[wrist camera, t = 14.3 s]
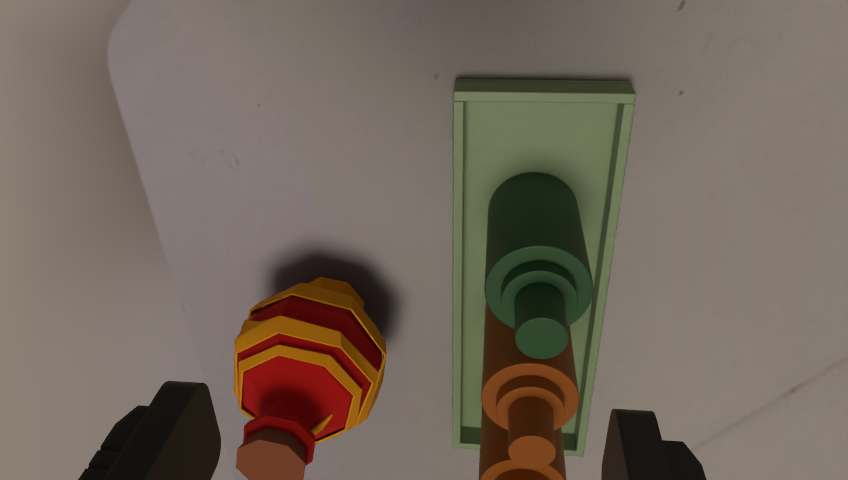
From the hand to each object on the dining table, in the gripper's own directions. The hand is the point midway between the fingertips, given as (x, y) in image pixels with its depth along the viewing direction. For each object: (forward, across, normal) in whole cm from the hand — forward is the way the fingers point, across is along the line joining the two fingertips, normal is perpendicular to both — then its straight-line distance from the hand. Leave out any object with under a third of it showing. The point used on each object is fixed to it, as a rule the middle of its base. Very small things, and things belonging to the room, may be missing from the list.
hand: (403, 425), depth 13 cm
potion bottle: (+30, +10, +20) cm, 38 cm away
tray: (+30, -4, +17) cm, 35 cm away
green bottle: (+30, -4, +11) cm, 32 cm away
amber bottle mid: (+30, -4, +19) cm, 35 cm away
